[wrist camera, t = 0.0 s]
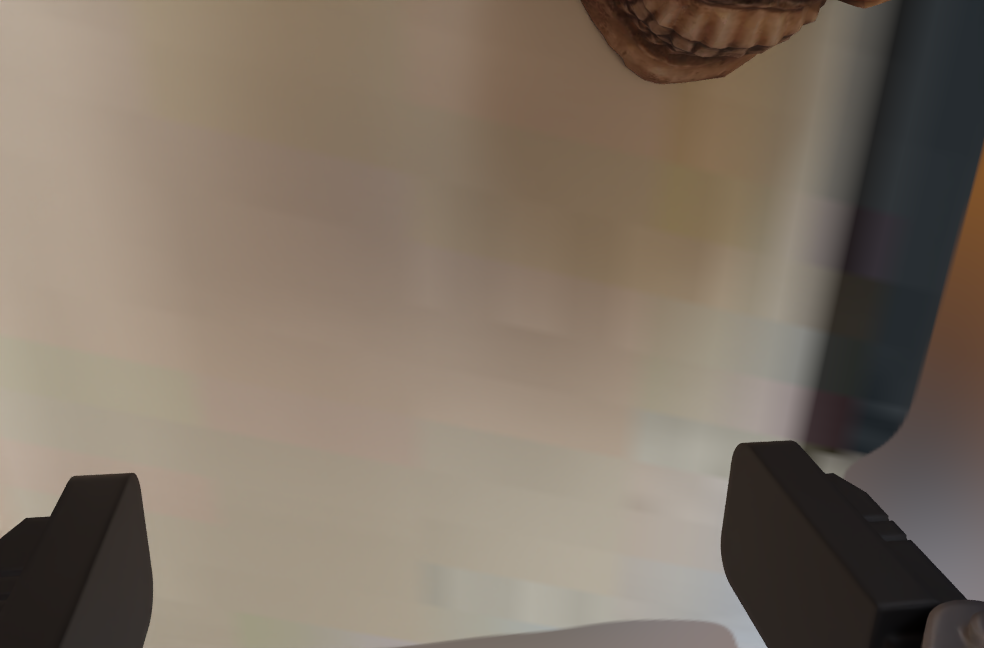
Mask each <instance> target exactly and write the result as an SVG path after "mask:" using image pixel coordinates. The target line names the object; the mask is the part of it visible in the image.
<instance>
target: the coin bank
mask: <svg viewBox="0 0 984 648" xmlns="http://www.w3.org/2000/svg"><path fill="white" fill-rule="evenodd" d="M581 1H582V3H583V5H584V7H585V8H586V10H587V12H588V14H589V16H590V17H591V19H592V21H593V22H594V23H595V25H596V26H597V27H598V29H599V30H600V32H601V33H602V34H603V36H604V37H605V39H606V41H607V43H608V45H609V46H610V47H611V48H612V49H614V50H615V51H616V52H617V53H618V54H619V55H620V56H621V57H622V58H623V60H624V63H625V65H626V66H627V67H628V68H629V69H631V70H632V71H633V72H634V73H636V74H637V75H638V76H640V77H641V78H642V79H644V80H647V81H650V82H654V83H658V84H670V83H683V82H691V81H699V80H706V79H713V78H720V77H725V76H726V75H728V74H729V73H731V72H732V71H734V70H735V69H737V68H738V67H740V66H741V65H743V64H744V63H745V62H747V61H748V60H750V59H751V58H753V57H754V56H755V55H757V54H759V53H763V52H764V51H766V50H768V49H769V48H771V47H773V46H775V45H777V44H779V43H782V42H784V41H786V40H788V39H789V38H790V37H791V36H792V35H793V34H795V33H796V32H798V31H799V30H800V28H801V27H802V26H803V25H805V24H808V23H811V22H814V21H816V18H817V16H818V12H819V9H820V8H821V7H822V6H823V5H824V4H825V2H826V0H581ZM839 1H842V2H845V3H847V4H850V5H853V6H856V7H861V8H868V7H871V6H875V5H878V4H881V3H884V2H886V1H889V0H839Z"/></svg>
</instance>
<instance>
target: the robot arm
mask: <svg viewBox="0 0 984 648" xmlns="http://www.w3.org/2000/svg"><path fill="white" fill-rule="evenodd" d="M721 556H722V562H723V567H724V571H725V574H726V577H727V579H728V582H729V583H730V585H731V587H732V589H733V590H734V592H735V594H736V595H737V597H738V599H739V600H740V602H741V604H742V605H743V607H744V609H745V610H746V612H747V614H748V616H749V617H750V619H751V621H752V622H753V624H754V626H755V627H756V629H757V631H758V632H759V634H760V636H761V637H762V639H763V641H764V642H765V644H766V646H767V647H768V648H984V602H982V601H976V600H967V599H966V598H965V597H964V596H963V595H962V593H961V592H959V590H958V589H957V588H956V587H955V586H954V585H953V584H952V583H951V582H950V581H949V580H948V579H947V578H946V576H945V575H944V574H942V572H941V571H940V570H939V569H938V568H937V567H936V566H935V565H934V564H933V563H932V562H931V561H930V560H929V559H928V557H927V556H926V555H925V554H924V553H923V552H922V551H921V550H920V549H919V548H918V547H917V546H916V545H915V544H914V543H913V542H912V541H911V540H907V538H906V534H905V533H904V532H903V531H902V530H901V529H900V528H899V527H898V526H897V525H896V524H895V522H894V521H889V519H888V515H887V514H886V513H885V512H884V511H883V510H882V509H881V508H880V507H879V506H878V504H877V503H876V502H874V500H873V499H872V498H871V497H870V496H869V495H868V494H867V493H866V492H864V491H863V490H861V489H859V488H858V487H856V486H854V485H852V484H851V483H849V482H847V481H846V480H844V479H842V478H841V477H839V476H837V475H835V474H834V473H830V474H825V473H824V472H823V471H822V470H821V469H820V468H819V467H818V465H817V464H816V463H815V462H814V461H813V460H812V459H811V458H810V457H809V455H808V454H807V453H806V452H805V451H804V450H803V449H802V448H801V447H800V445H798V444H797V443H796V442H794V441H791V440H790V441H771V442H751V443H740V444H739V445H738V446H737V447H736V448H735V451H734V453H733V457H732V462H731V469H730V476H729V484H728V491H727V498H726V505H725V512H724V519H723V526H722V534H721ZM152 603H153V577H152V568H151V561H150V553H149V546H148V539H147V531H146V524H145V517H144V510H143V502H142V495H141V489H140V484H139V480H138V478H137V476H136V474H135V473H123V474H103V475H84V476H73V477H71V478H70V480H69V481H68V483H67V485H66V487H65V489H64V491H63V493H62V495H61V497H60V498H59V500H58V502H57V504H56V506H55V508H54V510H53V512H52V514H51V516H50V517H35V518H26V519H24V520H23V521H22V522H21V523H19V524H18V525H17V526H16V527H14V528H13V529H12V530H11V531H9V532H8V533H7V534H6V535H4V536H3V537H2V538H1V539H0V648H143V644H144V641H145V638H146V634H147V631H148V627H149V623H150V619H151V612H152Z"/></svg>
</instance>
